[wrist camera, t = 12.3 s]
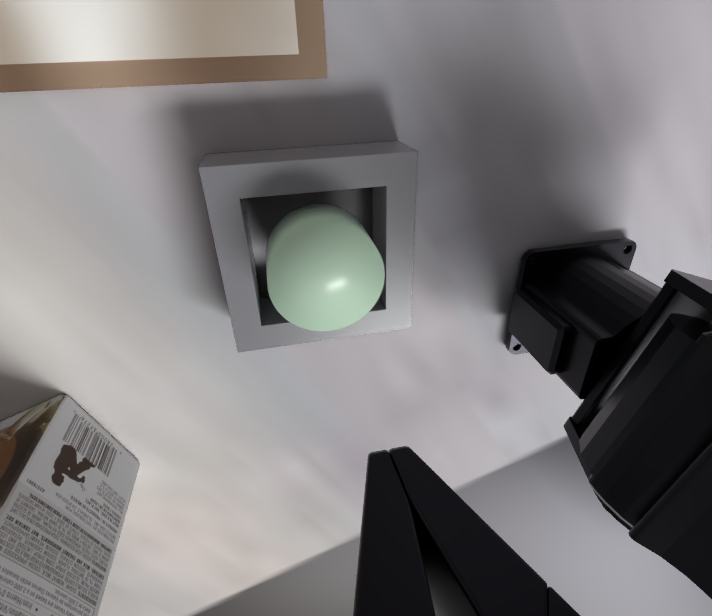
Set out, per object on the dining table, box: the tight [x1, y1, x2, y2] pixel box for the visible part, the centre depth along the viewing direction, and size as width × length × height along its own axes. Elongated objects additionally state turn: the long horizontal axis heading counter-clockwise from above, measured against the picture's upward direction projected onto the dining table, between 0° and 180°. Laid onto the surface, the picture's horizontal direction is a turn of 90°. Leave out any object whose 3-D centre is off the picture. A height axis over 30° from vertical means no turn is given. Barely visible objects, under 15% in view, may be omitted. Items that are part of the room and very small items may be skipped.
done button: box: [266, 204, 385, 331], centre depth 17 cm, size 4×4×2 cm
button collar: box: [198, 141, 418, 352], centre depth 19 cm, size 8×8×2 cm
